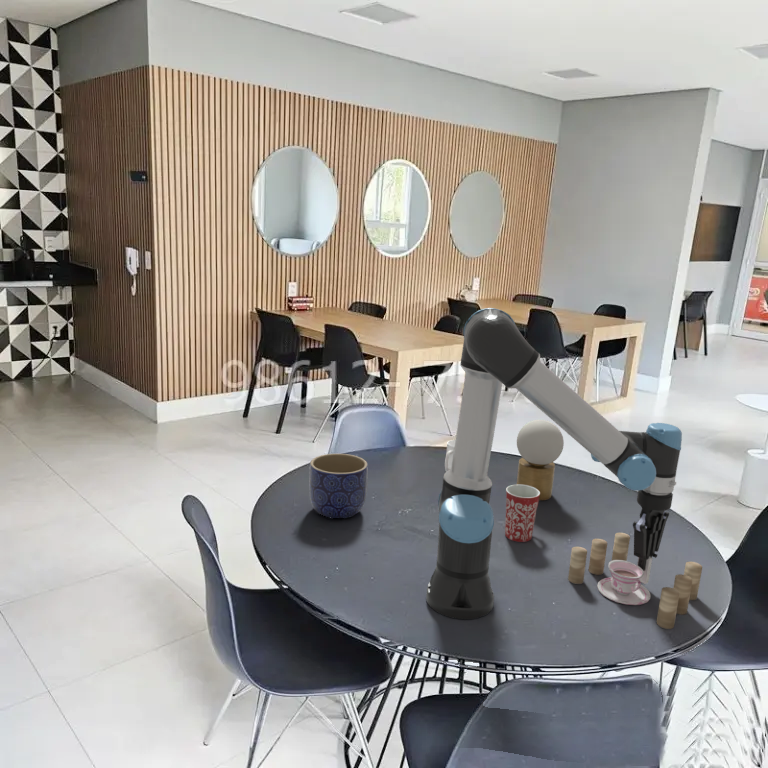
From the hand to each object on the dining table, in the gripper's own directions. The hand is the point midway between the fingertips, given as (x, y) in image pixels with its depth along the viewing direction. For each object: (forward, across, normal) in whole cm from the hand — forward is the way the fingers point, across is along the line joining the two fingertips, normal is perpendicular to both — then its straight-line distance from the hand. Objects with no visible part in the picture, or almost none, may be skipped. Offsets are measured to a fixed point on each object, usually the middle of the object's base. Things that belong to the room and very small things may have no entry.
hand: (641, 580), depth 166 cm
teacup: (+2, -6, +1) cm, 6 cm away
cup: (+2, +17, +78) cm, 80 cm away
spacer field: (+2, -2, 0) cm, 3 cm away
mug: (+2, -1, +35) cm, 35 cm away
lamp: (+2, +24, +50) cm, 55 cm away
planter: (+2, -34, +76) cm, 83 cm away
